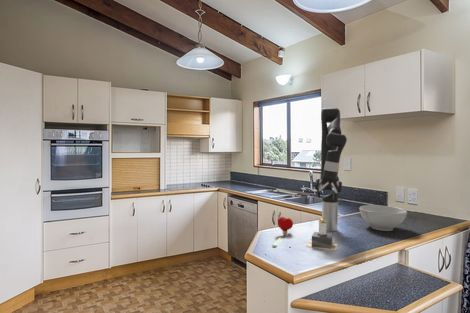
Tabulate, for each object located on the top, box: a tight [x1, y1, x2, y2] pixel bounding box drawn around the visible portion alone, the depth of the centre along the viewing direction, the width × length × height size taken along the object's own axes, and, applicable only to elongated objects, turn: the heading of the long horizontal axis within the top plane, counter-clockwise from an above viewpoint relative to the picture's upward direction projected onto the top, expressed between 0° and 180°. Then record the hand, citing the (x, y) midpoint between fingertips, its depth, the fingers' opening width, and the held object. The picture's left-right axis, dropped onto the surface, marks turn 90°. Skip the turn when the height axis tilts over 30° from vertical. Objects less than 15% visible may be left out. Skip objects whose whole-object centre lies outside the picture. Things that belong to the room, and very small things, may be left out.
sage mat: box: [272, 237, 285, 248], centre depth 159 cm, size 14×12×1 cm
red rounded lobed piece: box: [277, 216, 294, 236], centre depth 176 cm, size 9×7×10 cm
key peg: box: [318, 217, 327, 236], centre depth 155 cm, size 4×4×13 cm
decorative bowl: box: [359, 204, 408, 232], centre depth 194 cm, size 27×27×12 cm
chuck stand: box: [305, 231, 338, 252], centre depth 155 cm, size 14×14×6 cm
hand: (326, 198), depth 172 cm, fingers open, 8 cm apart
